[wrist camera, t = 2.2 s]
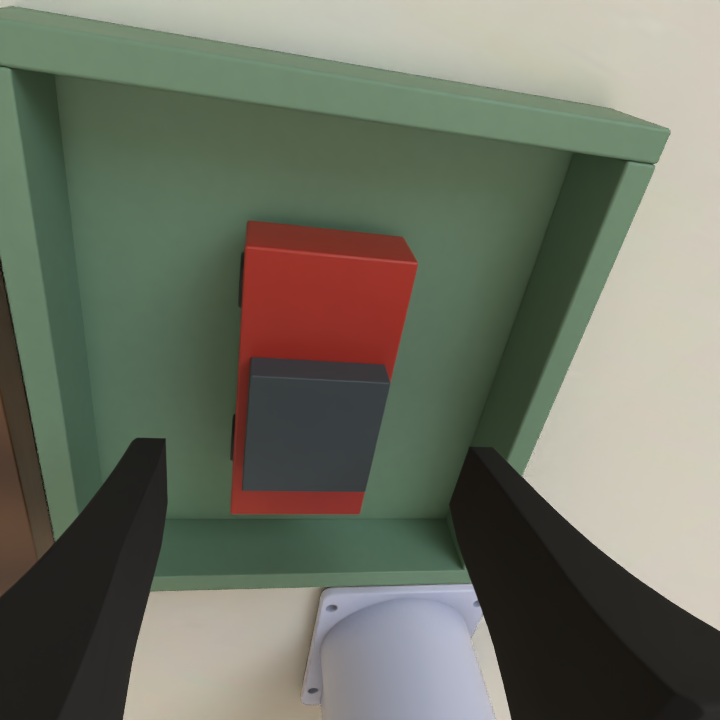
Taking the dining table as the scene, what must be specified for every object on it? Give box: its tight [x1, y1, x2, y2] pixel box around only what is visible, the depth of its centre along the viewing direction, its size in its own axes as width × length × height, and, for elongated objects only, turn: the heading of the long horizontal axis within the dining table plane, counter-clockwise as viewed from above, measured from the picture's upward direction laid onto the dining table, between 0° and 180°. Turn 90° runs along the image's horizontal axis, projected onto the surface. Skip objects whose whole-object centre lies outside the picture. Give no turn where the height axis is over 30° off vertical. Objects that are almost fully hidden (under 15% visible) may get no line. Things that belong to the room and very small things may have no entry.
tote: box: [0, 6, 670, 591], centre depth 17 cm, size 17×15×3 cm
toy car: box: [230, 220, 418, 514], centre depth 16 cm, size 9×4×3 cm, turn 171°
